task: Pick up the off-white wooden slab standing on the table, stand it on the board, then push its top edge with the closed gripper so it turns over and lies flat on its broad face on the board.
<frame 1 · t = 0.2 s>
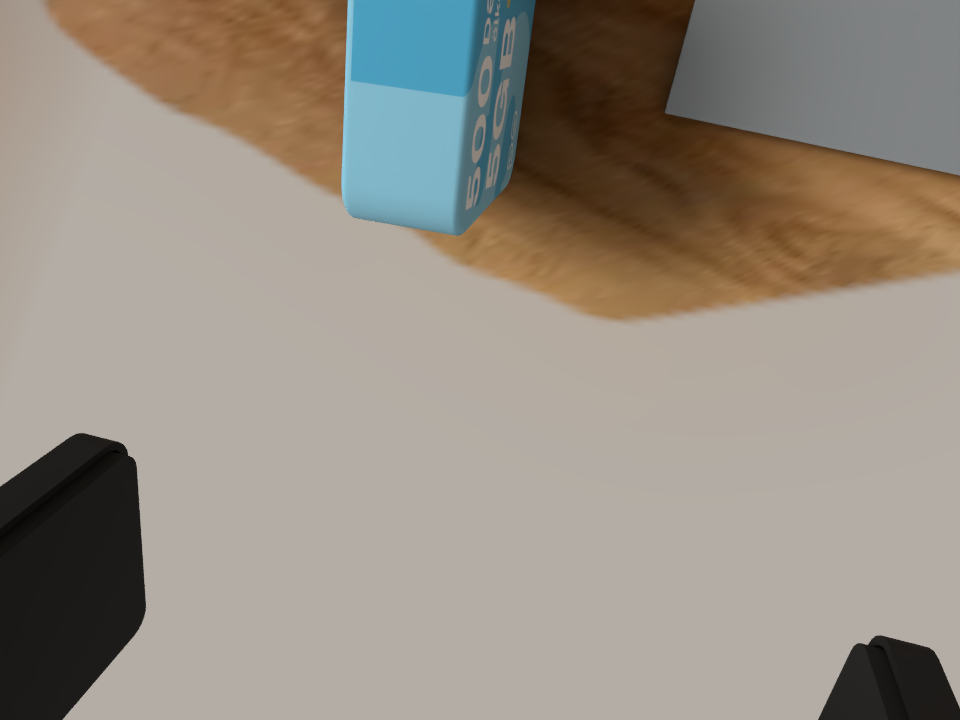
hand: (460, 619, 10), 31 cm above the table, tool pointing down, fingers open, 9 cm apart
data package: (483, 49, 37), on the table
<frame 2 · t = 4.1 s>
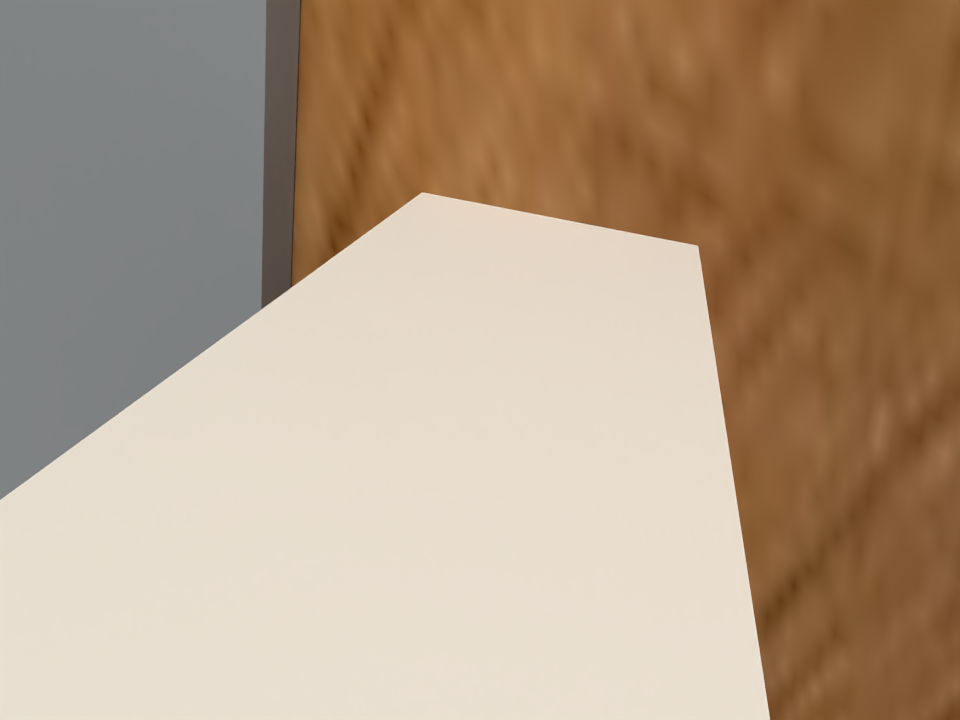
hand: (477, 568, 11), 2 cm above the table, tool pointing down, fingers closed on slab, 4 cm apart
slab: (508, 478, 13), on the table, touching gripper
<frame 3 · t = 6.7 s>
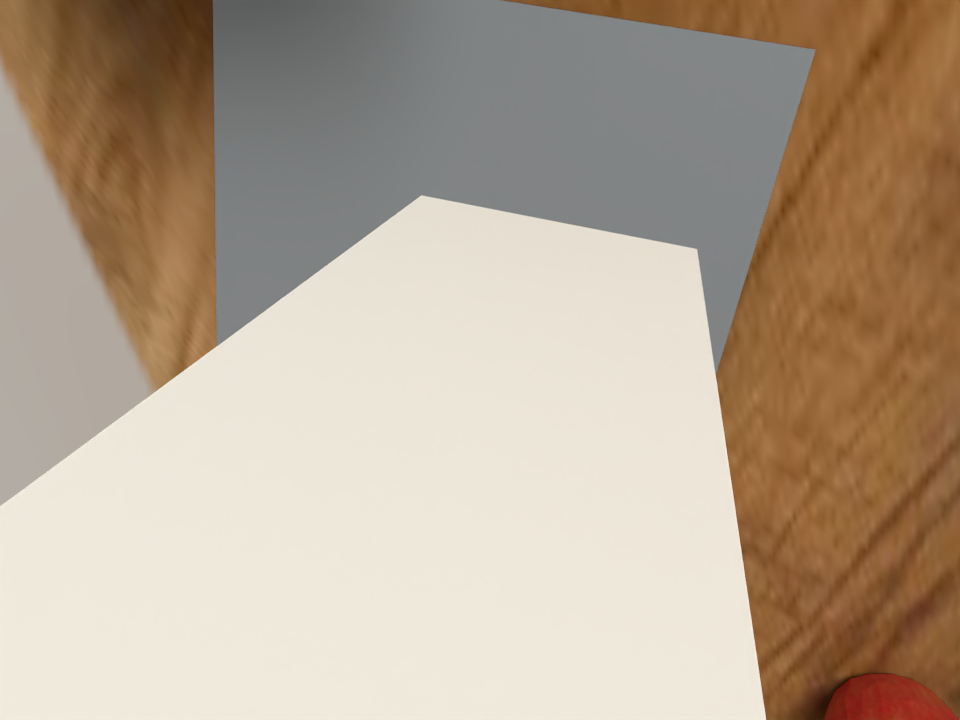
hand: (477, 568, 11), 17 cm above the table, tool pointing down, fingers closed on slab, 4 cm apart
apple: (878, 701, 31), on the table
slab: (507, 481, 13), point 14 cm above the table, touching gripper
board: (472, 224, 26), on the table
when the fingers open (4 cm above the table, at t = 9.6 s): slab stays where it is, resting on board.
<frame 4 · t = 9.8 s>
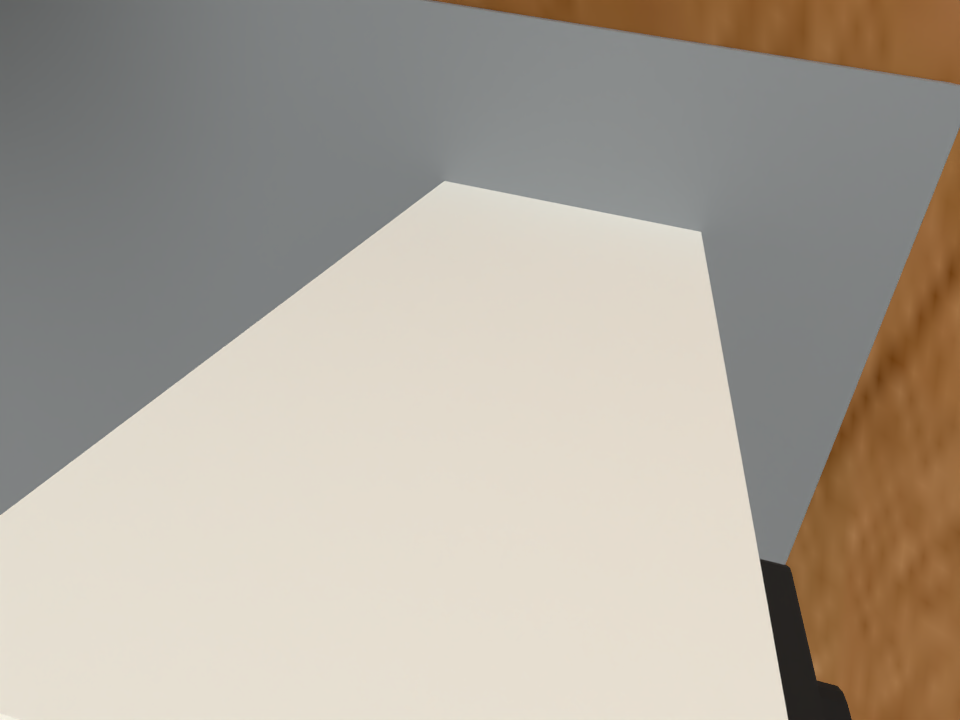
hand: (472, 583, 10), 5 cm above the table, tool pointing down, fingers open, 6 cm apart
slab: (520, 452, 14), point 1 cm above the table, touching board
board: (327, 378, 15), on the table
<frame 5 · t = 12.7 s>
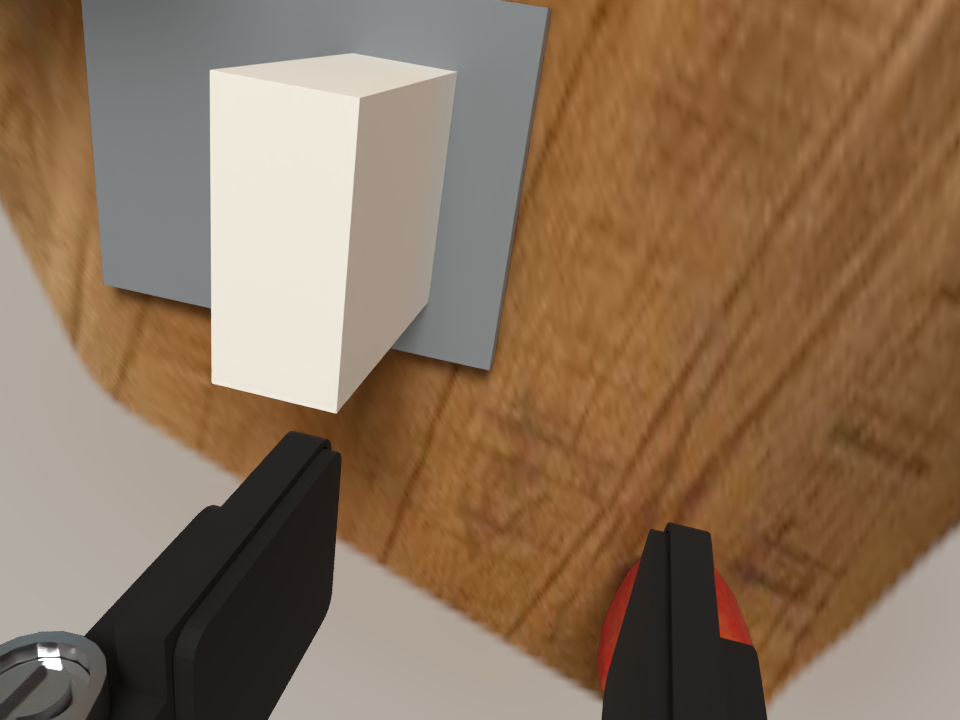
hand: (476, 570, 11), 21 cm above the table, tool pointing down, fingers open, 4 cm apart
apple: (674, 576, 36), on the table
slab: (392, 184, 30), point 1 cm above the table, touching board
board: (305, 161, 31), on the table
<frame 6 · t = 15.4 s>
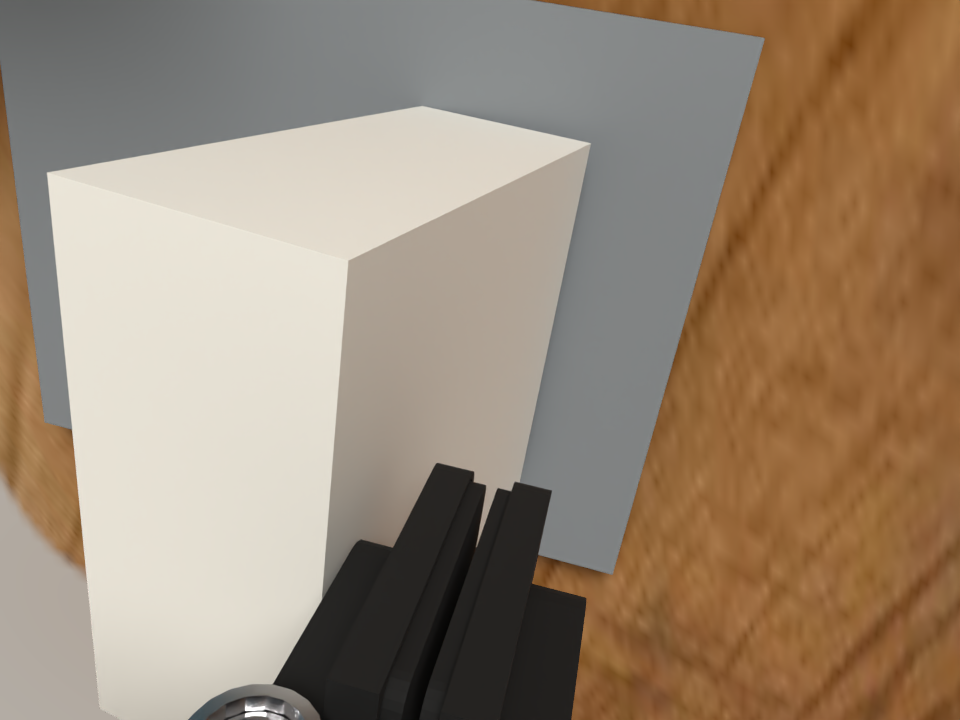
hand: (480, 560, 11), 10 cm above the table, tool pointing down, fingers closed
slab: (474, 311, 19), point 1 cm above the table, tilted 9°, touching board
board: (340, 261, 21), on the table
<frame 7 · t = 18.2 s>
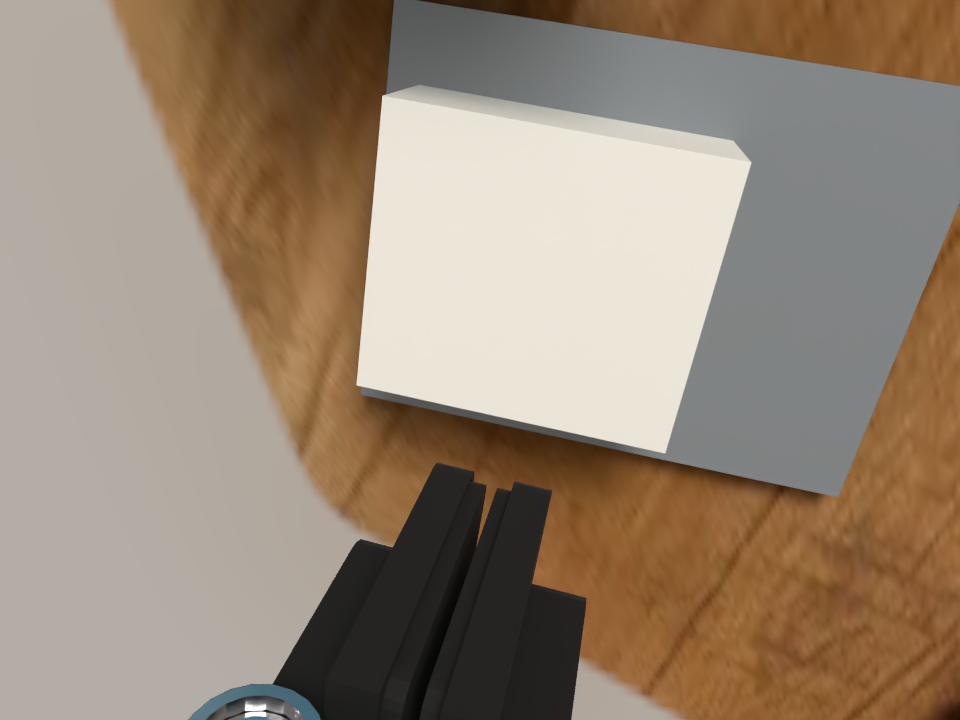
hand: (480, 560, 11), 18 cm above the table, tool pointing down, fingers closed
slab: (699, 297, 24), point 3 cm above the table, tilted 90°, touching board
board: (633, 258, 27), on the table
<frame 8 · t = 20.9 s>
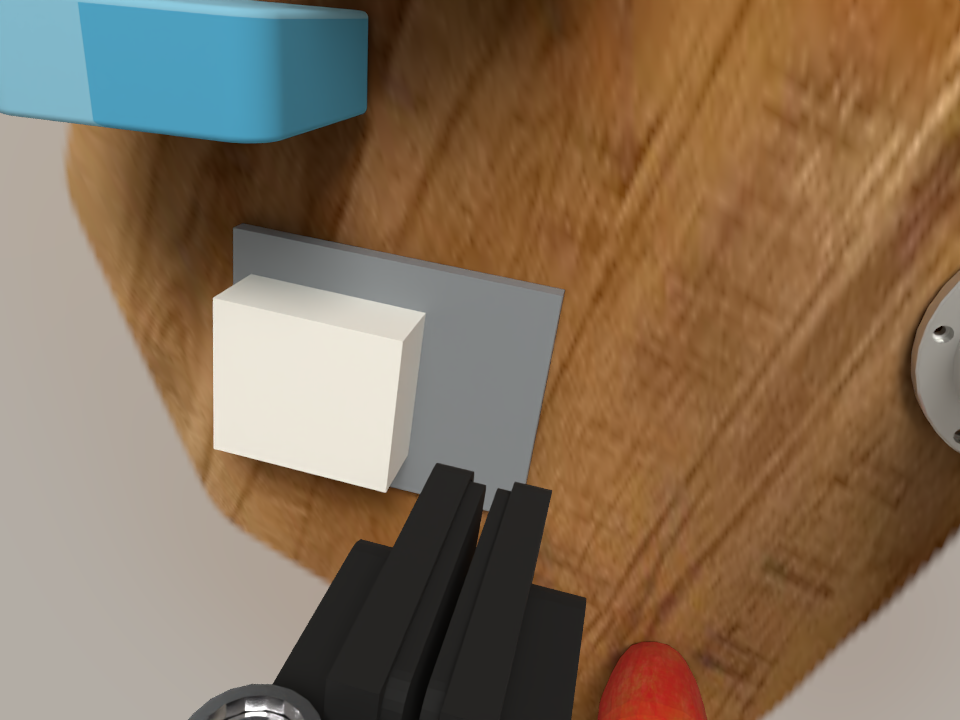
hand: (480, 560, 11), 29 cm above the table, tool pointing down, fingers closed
data package: (264, 51, 38), on the table
apple: (653, 660, 48), on the table
slab: (405, 403, 41), point 3 cm above the table, tilted 90°, touching board
board: (387, 371, 44), on the table
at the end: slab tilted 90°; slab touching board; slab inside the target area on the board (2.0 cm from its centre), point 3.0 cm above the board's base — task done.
